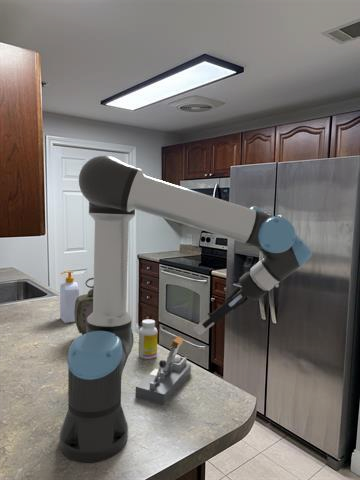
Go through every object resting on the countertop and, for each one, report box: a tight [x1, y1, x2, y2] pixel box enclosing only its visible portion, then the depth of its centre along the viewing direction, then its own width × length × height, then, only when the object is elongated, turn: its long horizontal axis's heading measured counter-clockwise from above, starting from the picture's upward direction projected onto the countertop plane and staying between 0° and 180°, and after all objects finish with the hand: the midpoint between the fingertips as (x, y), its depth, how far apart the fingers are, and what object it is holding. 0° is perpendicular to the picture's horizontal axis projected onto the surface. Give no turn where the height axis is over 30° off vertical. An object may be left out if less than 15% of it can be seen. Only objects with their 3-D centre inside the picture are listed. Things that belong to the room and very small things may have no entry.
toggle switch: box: [154, 359, 166, 385], centre depth 97 cm, size 2×2×8 cm
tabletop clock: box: [74, 277, 94, 335], centre depth 137 cm, size 14×9×25 cm, turn 114°
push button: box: [173, 354, 182, 363], centre depth 110 cm, size 4×4×2 cm
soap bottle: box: [59, 270, 80, 324], centre depth 158 cm, size 9×7×23 cm
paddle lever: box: [162, 336, 184, 375], centre depth 103 cm, size 2×4×12 cm, turn 157°
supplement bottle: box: [138, 318, 159, 360], centre depth 123 cm, size 7×7×13 cm
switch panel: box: [135, 356, 192, 406], centre depth 104 cm, size 9×20×5 cm, turn 157°
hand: (197, 331), depth 99 cm, fingers closed
